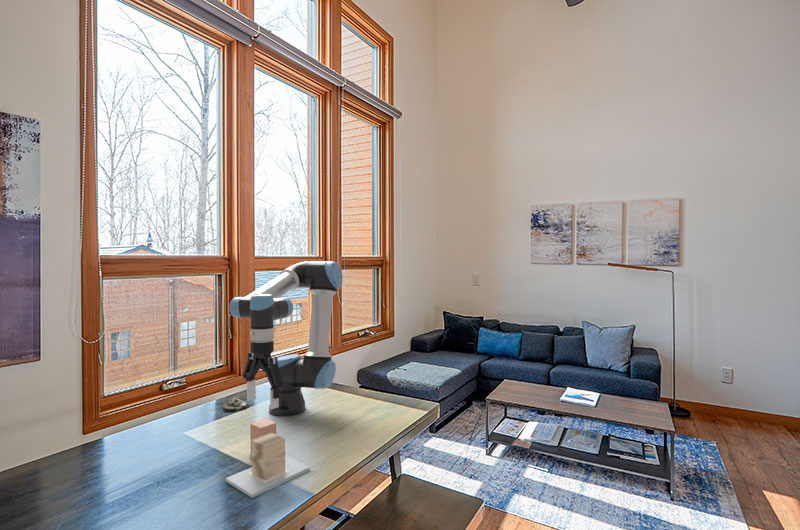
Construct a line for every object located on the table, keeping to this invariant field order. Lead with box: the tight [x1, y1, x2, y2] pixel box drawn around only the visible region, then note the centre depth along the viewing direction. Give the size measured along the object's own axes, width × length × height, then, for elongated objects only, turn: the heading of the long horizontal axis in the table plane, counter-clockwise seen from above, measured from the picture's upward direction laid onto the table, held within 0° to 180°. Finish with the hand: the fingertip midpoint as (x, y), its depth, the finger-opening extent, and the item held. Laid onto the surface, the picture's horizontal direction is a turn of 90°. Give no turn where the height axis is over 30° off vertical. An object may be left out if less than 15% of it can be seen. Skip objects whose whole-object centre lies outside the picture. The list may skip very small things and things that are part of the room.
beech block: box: [250, 433, 286, 480], centre depth 132 cm, size 7×7×10 cm
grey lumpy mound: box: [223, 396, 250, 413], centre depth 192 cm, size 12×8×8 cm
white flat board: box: [225, 454, 311, 499], centre depth 132 cm, size 14×20×1 cm
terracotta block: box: [249, 418, 277, 455], centre depth 148 cm, size 6×6×10 cm
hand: (262, 403), depth 147 cm, fingers open, 13 cm apart
